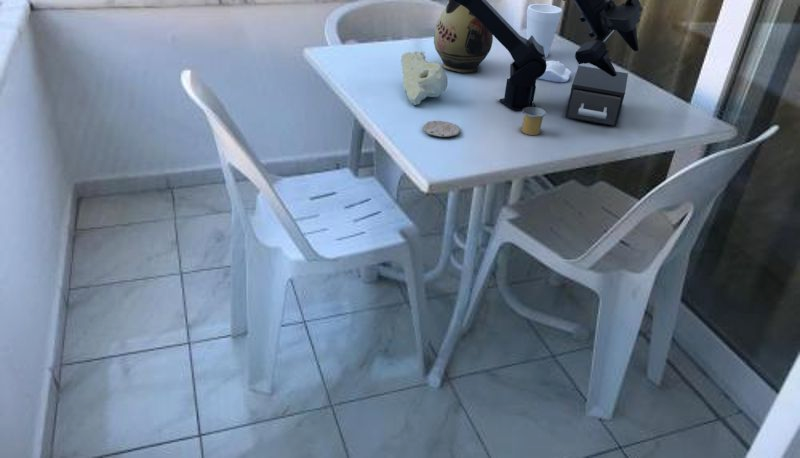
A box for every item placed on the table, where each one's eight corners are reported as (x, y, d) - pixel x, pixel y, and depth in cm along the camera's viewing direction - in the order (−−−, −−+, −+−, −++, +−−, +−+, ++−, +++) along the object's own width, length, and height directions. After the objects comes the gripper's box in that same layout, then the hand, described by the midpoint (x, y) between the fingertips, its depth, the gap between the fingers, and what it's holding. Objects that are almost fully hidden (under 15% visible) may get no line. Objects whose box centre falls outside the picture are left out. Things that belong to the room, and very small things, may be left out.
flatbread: (418, 134, 137) (418, 130, 137) (429, 120, 143) (429, 116, 143) (454, 141, 135) (455, 137, 135) (464, 127, 141) (464, 123, 141)
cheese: (444, 118, 150) (466, 64, 154) (427, 100, 145) (450, 45, 149) (396, 117, 160) (418, 67, 164) (379, 101, 155) (401, 49, 159)
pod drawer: (612, 134, 141) (619, 107, 137) (564, 125, 143) (570, 98, 140) (617, 105, 155) (623, 80, 151) (573, 97, 157) (579, 73, 154)
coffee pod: (528, 137, 139) (532, 117, 136) (514, 128, 143) (518, 108, 140) (546, 134, 141) (550, 113, 138) (532, 125, 145) (536, 105, 142)
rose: (546, 68, 163) (528, 55, 171) (543, 84, 166) (525, 71, 173) (580, 65, 166) (560, 53, 174) (576, 82, 169) (557, 69, 176)
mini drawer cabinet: (616, 126, 146) (625, 93, 142) (565, 117, 149) (572, 84, 145) (619, 105, 157) (628, 73, 153) (572, 96, 160) (578, 65, 155)
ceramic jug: (473, 55, 182) (486, -59, 165) (498, 74, 170) (515, -46, 153) (417, 59, 177) (425, -58, 160) (439, 79, 165) (451, -45, 148)
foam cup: (555, 60, 182) (564, 14, 175) (523, 58, 182) (531, 12, 175) (549, 49, 190) (558, 4, 183) (518, 47, 190) (525, 2, 182)
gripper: (597, 22, 129) (632, 84, 135) (645, -31, 135) (677, 30, 141) (558, 34, 139) (593, 91, 145) (605, -16, 145) (636, 40, 151)
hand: (625, 63), depth 145 cm, fingers open, 9 cm apart
